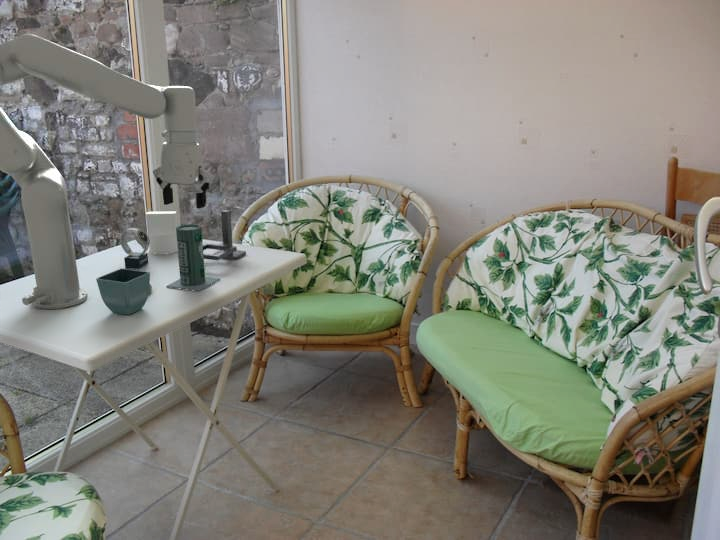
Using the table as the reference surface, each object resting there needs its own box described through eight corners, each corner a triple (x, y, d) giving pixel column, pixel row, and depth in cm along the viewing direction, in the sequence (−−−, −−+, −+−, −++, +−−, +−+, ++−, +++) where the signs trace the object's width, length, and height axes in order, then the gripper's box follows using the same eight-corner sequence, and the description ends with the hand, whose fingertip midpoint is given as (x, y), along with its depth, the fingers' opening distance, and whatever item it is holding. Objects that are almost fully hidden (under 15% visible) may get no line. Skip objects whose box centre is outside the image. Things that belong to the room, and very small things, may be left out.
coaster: (199, 291, 169) (199, 290, 169) (166, 287, 172) (166, 285, 172) (219, 279, 178) (219, 278, 178) (188, 275, 181) (188, 274, 181)
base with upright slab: (182, 246, 210) (179, 209, 206) (176, 254, 201) (173, 215, 197) (153, 246, 209) (149, 209, 205) (146, 254, 201) (142, 216, 197)
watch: (146, 269, 187) (142, 231, 183) (119, 267, 188) (115, 230, 185) (154, 263, 192) (151, 226, 189) (129, 262, 193) (125, 225, 190)
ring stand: (218, 272, 185) (215, 223, 180) (187, 268, 188) (183, 220, 184) (249, 254, 201) (247, 209, 196) (219, 251, 204) (216, 207, 199)
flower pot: (125, 302, 162) (121, 267, 160) (154, 306, 159) (151, 271, 157) (99, 314, 155) (94, 278, 152) (130, 319, 152) (125, 283, 149)
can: (209, 282, 175) (205, 227, 171) (189, 287, 171) (184, 231, 166) (196, 276, 179) (192, 223, 175) (176, 281, 175) (172, 227, 171)
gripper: (142, 137, 163) (147, 205, 168) (203, 141, 157) (206, 212, 162) (160, 134, 169) (164, 199, 175) (219, 138, 164) (222, 206, 169)
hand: (184, 205), depth 169 cm, fingers open, 9 cm apart
